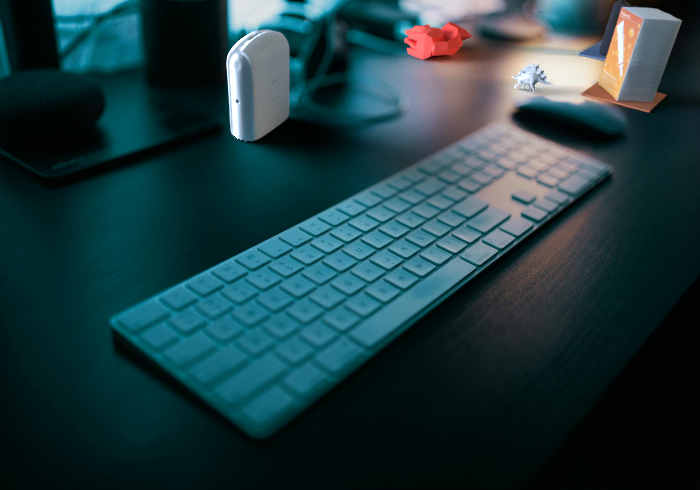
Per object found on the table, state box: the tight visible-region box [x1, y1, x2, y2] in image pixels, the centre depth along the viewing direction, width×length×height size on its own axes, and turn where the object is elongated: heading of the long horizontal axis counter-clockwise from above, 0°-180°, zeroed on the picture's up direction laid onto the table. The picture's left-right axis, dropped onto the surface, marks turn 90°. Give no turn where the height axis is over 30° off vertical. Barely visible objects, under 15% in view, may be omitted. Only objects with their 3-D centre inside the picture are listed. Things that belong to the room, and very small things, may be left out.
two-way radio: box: [599, 0, 639, 56], centre depth 115 cm, size 6×4×15 cm
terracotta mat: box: [580, 80, 667, 114], centre depth 98 cm, size 11×11×1 cm
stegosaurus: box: [511, 63, 554, 94], centre depth 96 cm, size 2×7×5 cm, turn 60°
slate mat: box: [578, 40, 607, 62], centre depth 122 cm, size 12×19×1 cm, turn 143°
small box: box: [597, 6, 683, 102], centre depth 95 cm, size 8×6×13 cm
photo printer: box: [226, 29, 290, 142], centre depth 74 cm, size 10×4×12 cm, turn 157°
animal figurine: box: [404, 21, 473, 60], centre depth 112 cm, size 12×15×5 cm
